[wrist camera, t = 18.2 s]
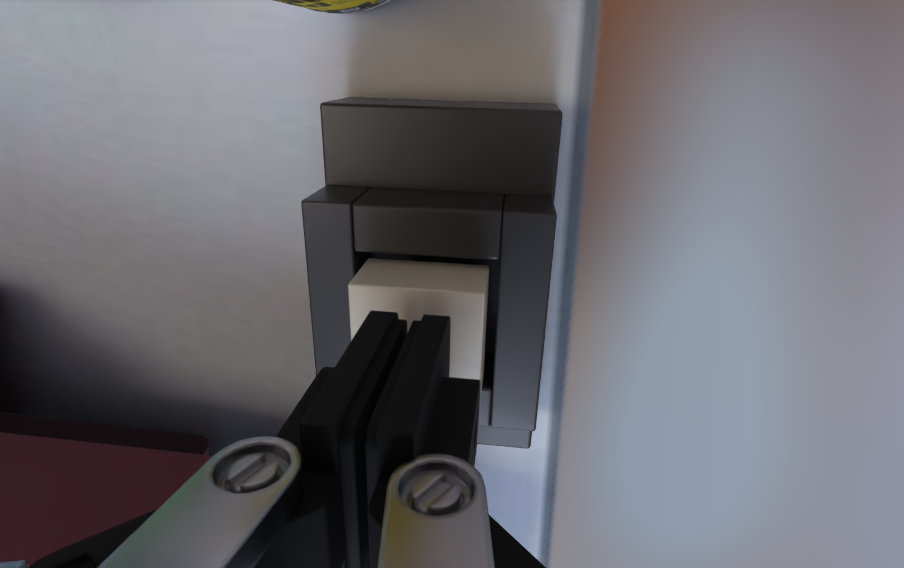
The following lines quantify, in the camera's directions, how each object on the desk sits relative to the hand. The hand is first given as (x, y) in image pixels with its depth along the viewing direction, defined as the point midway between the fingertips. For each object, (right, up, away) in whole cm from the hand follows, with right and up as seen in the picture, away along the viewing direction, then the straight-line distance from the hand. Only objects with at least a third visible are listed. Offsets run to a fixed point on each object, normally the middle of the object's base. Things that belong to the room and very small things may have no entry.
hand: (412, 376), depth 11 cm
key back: (0, +1, +2) cm, 3 cm away
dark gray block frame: (+1, +3, +6) cm, 6 cm away
